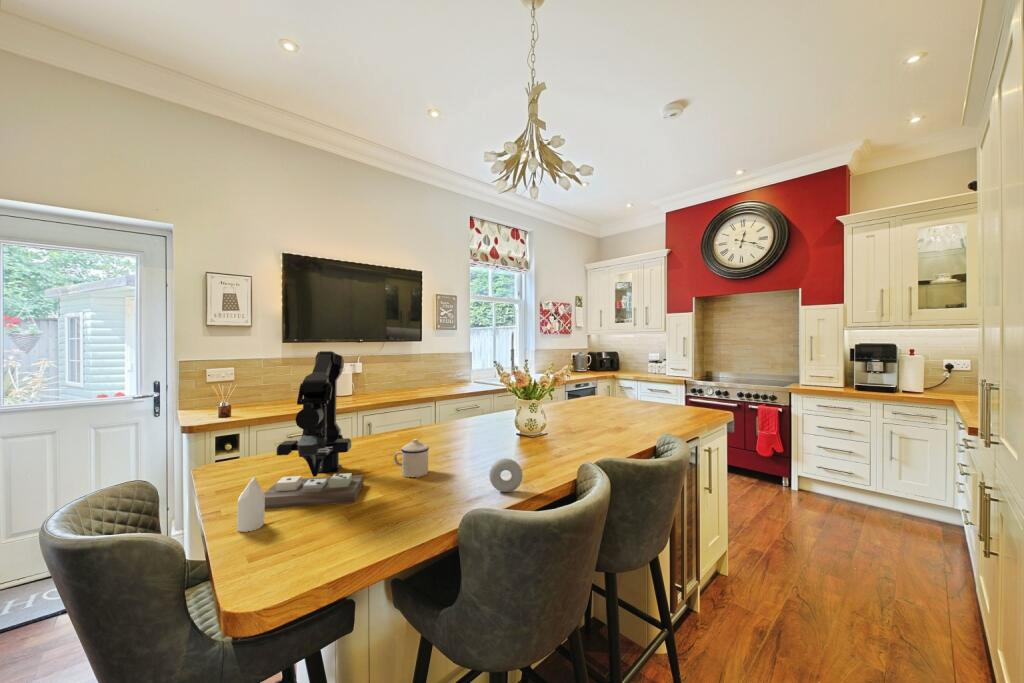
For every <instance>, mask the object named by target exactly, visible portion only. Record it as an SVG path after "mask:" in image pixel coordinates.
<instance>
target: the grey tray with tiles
mask: <svg viewBox="0 0 1024 683" xmlns="http://www.w3.org/2000/svg"><path fill="white" fill-rule="evenodd" d="M331 478H332V476H323V477H321V476H320V477H307V478H306V477H303V478H302V477H301V485H300V487H299V488H298V489H297V490H289V491H276V483H277V482H278V481H279V480H280V479H278V481H276V482H275V483H274V484H272V486H270V487H269V488H268V489H267V490H266V491H264V492H265V510H266V509H267V508H269V509H280V508H293V507H294V508H295V507H310V506H324V504H327V505H339V504H338V503H341V504H352V503H355V502H356V500H357V498H358V496H359V494H360V492H361V490H362V488H363V486H364V474H359V475H357V474H356V475H352V483H351V484H350V486H349V487H338V488H330V479H331ZM310 479H327V484H326V485H325V486H324V488H322V489H306V490H303V485H304V484H305V483H306V482H307V481H308V480H310ZM361 487H362V488H361ZM267 510H268V509H267Z"/></svg>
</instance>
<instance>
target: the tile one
mask: <svg viewBox="0 0 1024 683" xmlns="http://www.w3.org/2000/svg"><path fill="white" fill-rule="evenodd" d="M301 478H302V475H295V476H282V477H281V478H280V479H278V480H279V481H278V482H277V481H276V482H277V483H276V482H275V483H276V491H289V490H297V489H298V488H299V487H300V485H301Z"/></svg>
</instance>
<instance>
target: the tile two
mask: <svg viewBox="0 0 1024 683" xmlns="http://www.w3.org/2000/svg"><path fill="white" fill-rule="evenodd" d="M326 484H327V479H310V480H308V481H307V482H306V483H305V484H304V485H303V490H306V489H322V488H324V486H325V485H326Z"/></svg>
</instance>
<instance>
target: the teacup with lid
mask: <svg viewBox="0 0 1024 683" xmlns="http://www.w3.org/2000/svg"><path fill="white" fill-rule="evenodd" d="M429 449H430V447H429V445H428V444H426V443H423V442H421V441H419V439H418V438H413V439H412V440H411V442H409V443H407V444H405V445H403V446H402V447H401V450H399V451H396V452H395V453H394V455H393V460H394V463H395V465H396V466H399V467H401V475H402V476H403V477H405V478H409V477H412V479H413V477H416V478H421V476H422V477H424V476H426V475H427V474H428V473H429ZM398 455H401V463H400V462H399V461H398V458H397V456H398Z"/></svg>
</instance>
